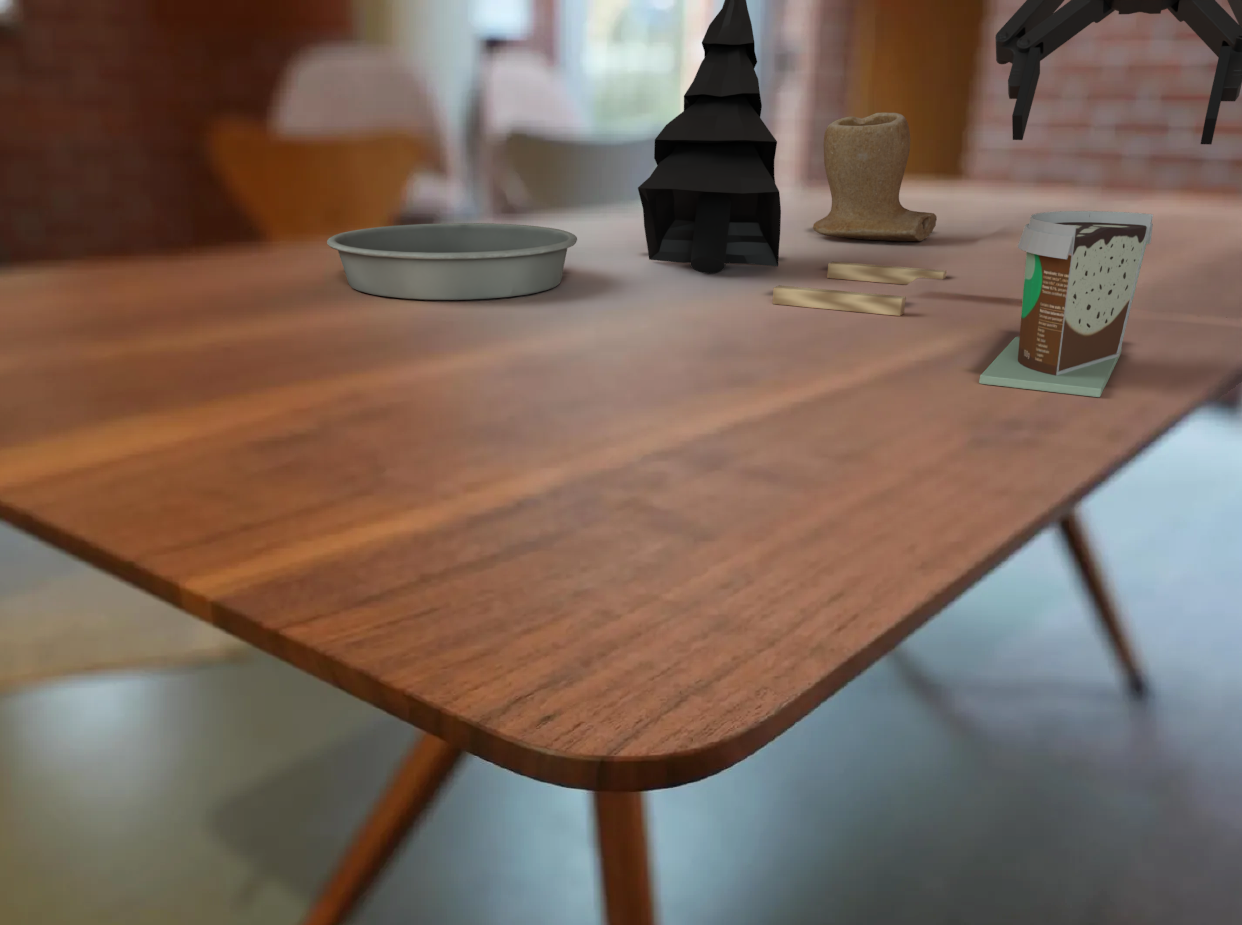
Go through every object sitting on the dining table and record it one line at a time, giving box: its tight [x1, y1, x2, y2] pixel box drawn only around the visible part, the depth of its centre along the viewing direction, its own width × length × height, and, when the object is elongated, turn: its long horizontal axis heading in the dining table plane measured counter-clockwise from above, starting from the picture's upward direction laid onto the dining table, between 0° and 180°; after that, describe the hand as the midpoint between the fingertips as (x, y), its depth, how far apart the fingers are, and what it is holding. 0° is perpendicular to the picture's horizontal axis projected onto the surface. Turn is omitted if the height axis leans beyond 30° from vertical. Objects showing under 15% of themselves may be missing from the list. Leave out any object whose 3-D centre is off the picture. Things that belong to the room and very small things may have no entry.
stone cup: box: [812, 112, 938, 242], centre depth 147 cm, size 15×12×15 cm
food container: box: [1017, 210, 1154, 376], centre depth 84 cm, size 12×6×10 cm, turn 133°
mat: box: [978, 336, 1123, 398], centre depth 86 cm, size 8×15×1 cm, turn 153°
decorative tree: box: [637, 0, 782, 274], centre depth 126 cm, size 15×15×35 cm
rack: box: [772, 261, 948, 317], centre depth 114 cm, size 12×19×2 cm, turn 153°
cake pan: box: [326, 222, 578, 301], centre depth 117 cm, size 25×25×4 cm
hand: (1109, 130), depth 89 cm, fingers open, 13 cm apart
